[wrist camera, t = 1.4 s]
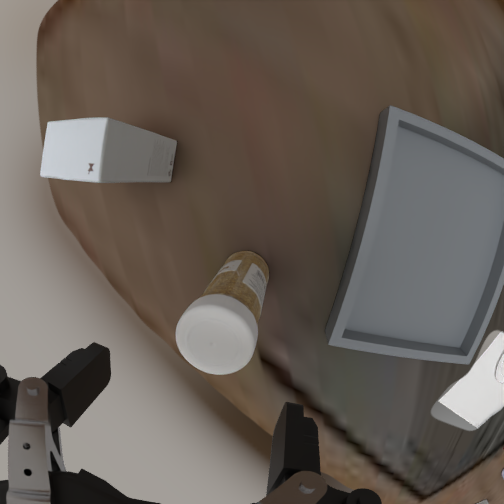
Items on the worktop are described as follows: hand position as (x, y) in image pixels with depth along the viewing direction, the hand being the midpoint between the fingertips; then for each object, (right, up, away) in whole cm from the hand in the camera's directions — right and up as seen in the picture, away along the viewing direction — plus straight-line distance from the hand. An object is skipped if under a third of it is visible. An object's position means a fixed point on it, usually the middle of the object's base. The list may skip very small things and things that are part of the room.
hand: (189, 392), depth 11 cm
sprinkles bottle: (+2, +4, +17) cm, 18 cm away
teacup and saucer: (+42, -12, +17) cm, 46 cm away
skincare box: (-8, +15, +16) cm, 23 cm away
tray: (+21, +6, +14) cm, 26 cm away
